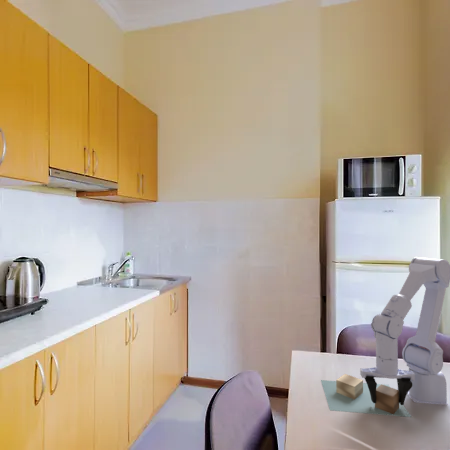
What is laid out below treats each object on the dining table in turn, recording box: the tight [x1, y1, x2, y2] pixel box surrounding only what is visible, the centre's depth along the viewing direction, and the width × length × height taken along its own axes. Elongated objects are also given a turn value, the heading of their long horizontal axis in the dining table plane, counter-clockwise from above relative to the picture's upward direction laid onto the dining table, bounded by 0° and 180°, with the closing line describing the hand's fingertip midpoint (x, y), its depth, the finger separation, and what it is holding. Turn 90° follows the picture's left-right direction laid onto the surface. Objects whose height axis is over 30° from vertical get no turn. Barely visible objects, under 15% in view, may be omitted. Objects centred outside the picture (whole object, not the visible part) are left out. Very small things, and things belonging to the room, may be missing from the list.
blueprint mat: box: [320, 379, 412, 418], centre depth 97 cm, size 22×18×1 cm
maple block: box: [335, 373, 364, 400], centre depth 100 cm, size 6×6×4 cm
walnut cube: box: [375, 383, 399, 414], centre depth 91 cm, size 5×5×5 cm
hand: (387, 402), depth 91 cm, fingers closed on walnut cube, 7 cm apart
